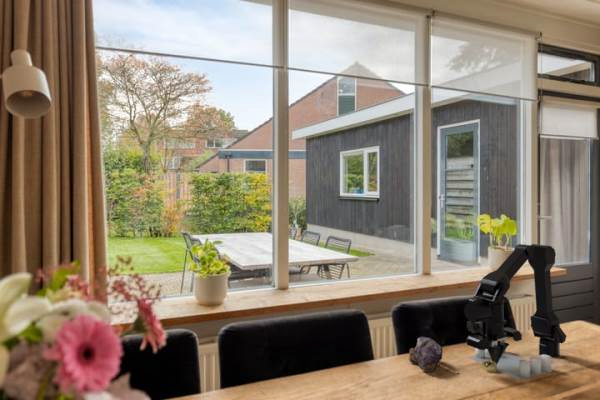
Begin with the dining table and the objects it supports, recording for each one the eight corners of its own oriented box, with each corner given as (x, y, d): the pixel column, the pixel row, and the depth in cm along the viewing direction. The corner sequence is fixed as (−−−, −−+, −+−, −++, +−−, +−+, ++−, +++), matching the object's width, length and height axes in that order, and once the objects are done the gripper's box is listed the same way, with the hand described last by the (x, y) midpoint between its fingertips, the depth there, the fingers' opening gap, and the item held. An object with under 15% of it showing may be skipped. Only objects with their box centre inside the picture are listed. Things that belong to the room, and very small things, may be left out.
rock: (419, 377, 136) (448, 374, 137) (420, 353, 134) (450, 350, 135) (405, 358, 147) (433, 355, 148) (406, 335, 146) (434, 333, 147)
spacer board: (501, 352, 153) (501, 337, 153) (554, 373, 135) (554, 356, 135) (468, 360, 146) (468, 344, 146) (519, 383, 128) (519, 365, 128)
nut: (488, 364, 139) (486, 357, 139) (500, 370, 135) (498, 363, 135) (478, 370, 138) (476, 363, 138) (490, 376, 133) (489, 369, 133)
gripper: (493, 306, 148) (494, 350, 148) (453, 314, 140) (454, 361, 140) (522, 314, 138) (523, 362, 138) (480, 323, 130) (481, 374, 130)
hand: (494, 364), depth 137 cm, fingers closed
